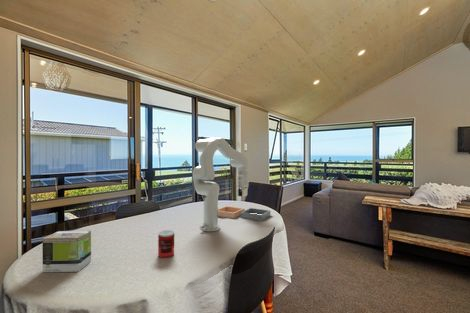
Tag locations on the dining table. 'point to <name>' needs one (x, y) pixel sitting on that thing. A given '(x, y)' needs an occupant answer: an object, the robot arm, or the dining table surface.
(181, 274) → the dining table surface
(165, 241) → the canned food
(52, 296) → the dining table surface
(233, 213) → the tub
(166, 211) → the dining table surface
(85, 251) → the tea box
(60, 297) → the dining table surface
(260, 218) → the bin
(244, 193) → the stone block
